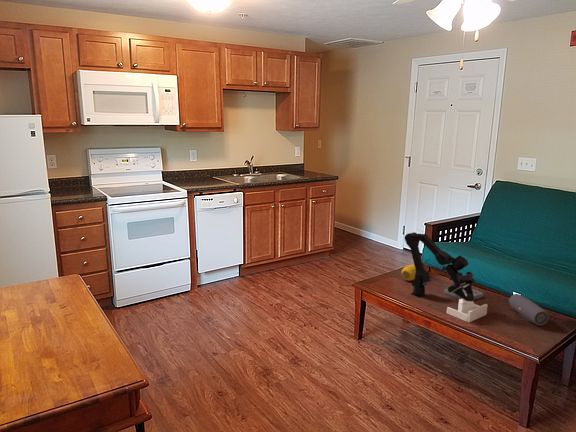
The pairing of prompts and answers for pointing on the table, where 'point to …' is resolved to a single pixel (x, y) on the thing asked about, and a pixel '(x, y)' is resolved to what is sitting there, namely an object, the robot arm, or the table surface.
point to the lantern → (409, 272)
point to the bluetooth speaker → (528, 309)
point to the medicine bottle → (466, 303)
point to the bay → (469, 313)
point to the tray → (475, 293)
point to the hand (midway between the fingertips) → (469, 298)
